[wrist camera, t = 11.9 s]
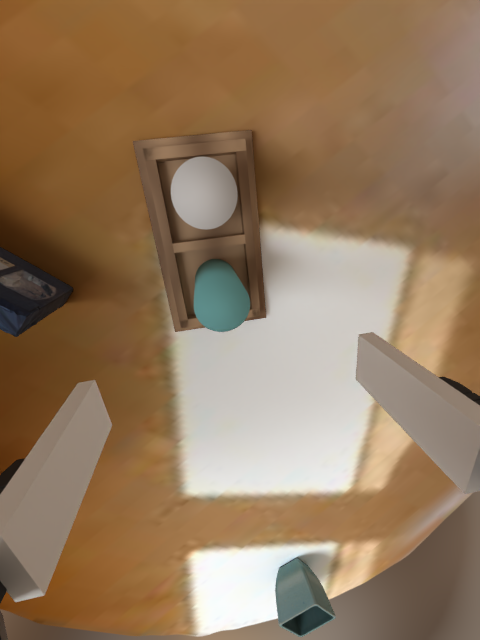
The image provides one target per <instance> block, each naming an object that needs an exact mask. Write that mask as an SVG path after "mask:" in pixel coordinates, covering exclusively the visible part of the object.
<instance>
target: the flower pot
mask: <svg viewBox="0 0 480 640" xmlns="http://www.w3.org/2000/svg"><path fill="white" fill-rule="evenodd" d="M275 591H276V603H277V612H278V621H279V626H280V627H282V628H283V629H286V630H287V631H290V632H291V633H293V634H295V635H297V636H298V637H303V636H305V635H307V634H308V633H310V632H312V631H314V630H315V629H317V628H319V627H321V626H322V625H324V624H326V623H328V622H330V621H332V620H333V619H335V618H336V616H335V614H334V611H333V609H332V607H331V604H330V602H329V600H328V597H327V595H326V593H325V591H324V588H323V586H322V585H321V583H320V581H319V580H318V578H317V577H316V575H315V574H314V573H313V571H312V570H311V569H310V568H309V567H308V566H307V565H306V564H305V563H303V562H302V561H301V560H300V559H298V558H296V559H294V560H293V561H291V562H289V563H288V564H286V565H284V566H283V567H281V568H279V571H278V574H277V579H276V589H275Z"/></svg>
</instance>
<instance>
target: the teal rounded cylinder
mask: <svg viewBox="0 0 480 640" xmlns="http://www.w3.org/2000/svg"><path fill="white" fill-rule="evenodd" d="M249 310H250V298H249V295H248V293H247V291H246V289H245V288H244V286H243V284H242V283H241V281H240V279H239V278H238V276H237V274H236V273H235V271H234V269H233V268H232V266H231V265H230V264H229V263H227V262H225V261H223V260H220V259H211V260H208V261H206V262H204V263H203V264H201V265H200V267H199V268H198V270H197V272H196V275H195V289H194V312H195V315H196V317H197V319H198V320H199V322H200V323H201V324H202V325H203V326H205V327H206V328H208V329H210V330H213V331H218V332H224V331H230V330H233V329H235V328H237V327H238V326H239V325H241V324H242V323H243V322H244V321H245V319H246V318H247V316H248V313H249Z"/></svg>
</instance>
